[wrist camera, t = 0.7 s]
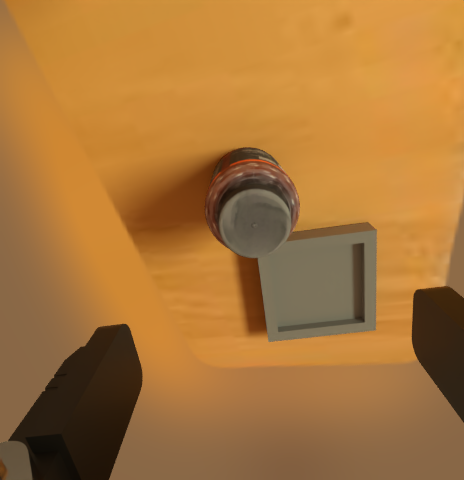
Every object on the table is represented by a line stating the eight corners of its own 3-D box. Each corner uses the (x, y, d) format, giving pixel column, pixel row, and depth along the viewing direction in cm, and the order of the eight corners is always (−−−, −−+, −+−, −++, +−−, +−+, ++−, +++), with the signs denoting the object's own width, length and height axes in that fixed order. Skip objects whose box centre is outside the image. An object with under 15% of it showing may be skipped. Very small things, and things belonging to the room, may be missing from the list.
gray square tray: (254, 237, 30) (255, 245, 28) (367, 222, 30) (376, 229, 28) (266, 329, 34) (268, 341, 32) (368, 317, 33) (375, 330, 31)
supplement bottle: (219, 220, 30) (208, 282, 19) (206, 152, 28) (186, 179, 17) (286, 210, 29) (313, 267, 19) (278, 140, 27) (304, 160, 17)
